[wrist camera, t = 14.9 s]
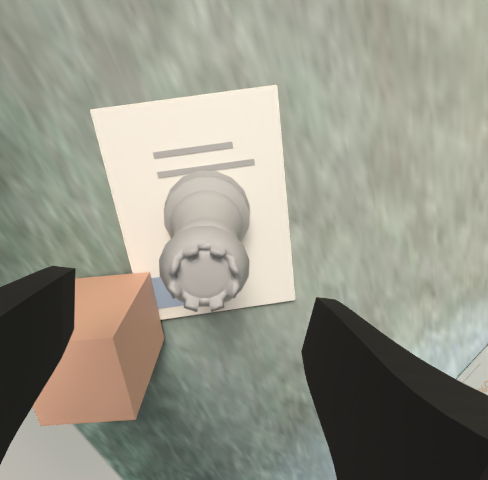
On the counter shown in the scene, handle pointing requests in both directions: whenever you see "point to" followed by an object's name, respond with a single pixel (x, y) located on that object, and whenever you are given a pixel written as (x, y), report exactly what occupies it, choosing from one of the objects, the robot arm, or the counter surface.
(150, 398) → the counter surface
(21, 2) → the counter surface
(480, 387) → the small box
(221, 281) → the rook chess piece
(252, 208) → the letter
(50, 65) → the counter surface
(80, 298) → the block
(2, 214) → the counter surface
